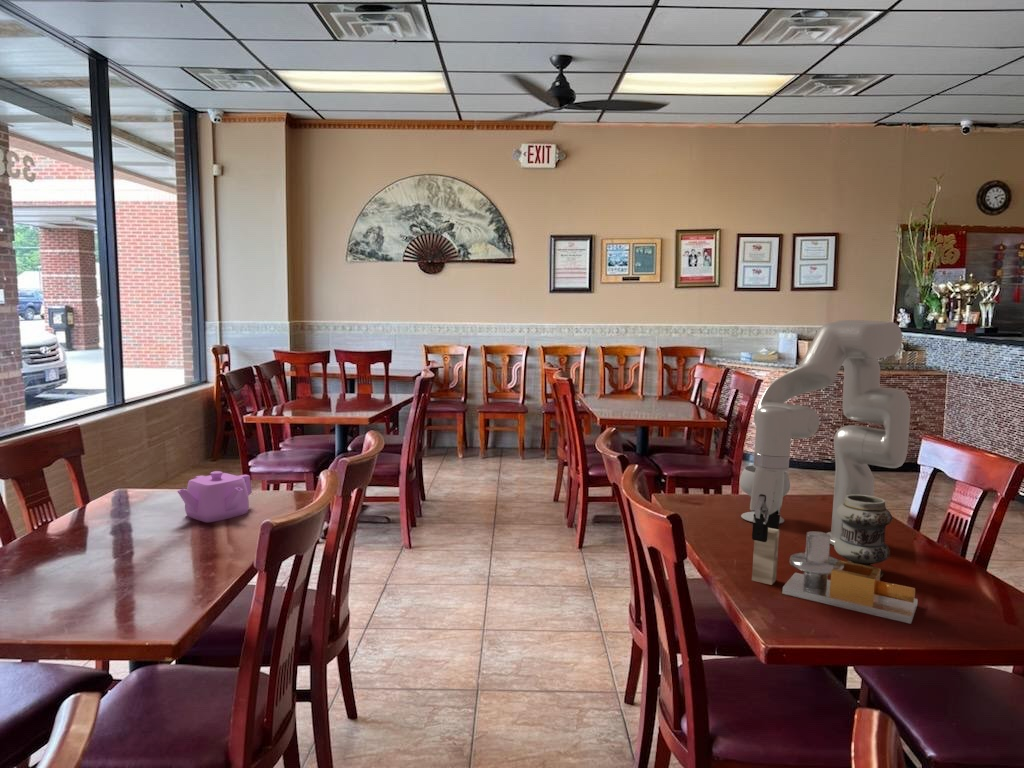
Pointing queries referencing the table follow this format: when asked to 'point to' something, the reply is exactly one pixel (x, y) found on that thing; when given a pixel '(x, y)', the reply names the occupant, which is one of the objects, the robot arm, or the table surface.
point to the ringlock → (847, 583)
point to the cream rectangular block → (766, 558)
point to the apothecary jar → (863, 530)
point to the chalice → (747, 484)
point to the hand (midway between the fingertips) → (765, 535)
